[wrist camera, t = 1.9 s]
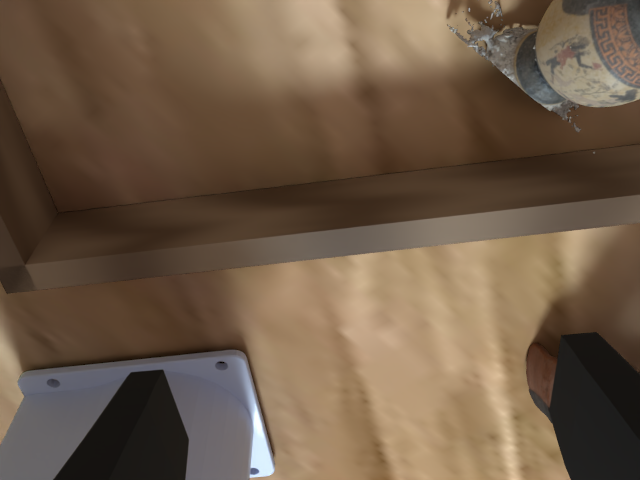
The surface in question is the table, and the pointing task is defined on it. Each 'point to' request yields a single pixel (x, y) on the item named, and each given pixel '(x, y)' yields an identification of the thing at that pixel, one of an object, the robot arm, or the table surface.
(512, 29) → the vase
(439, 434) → the table surface
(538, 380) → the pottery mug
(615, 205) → the walnut tray
